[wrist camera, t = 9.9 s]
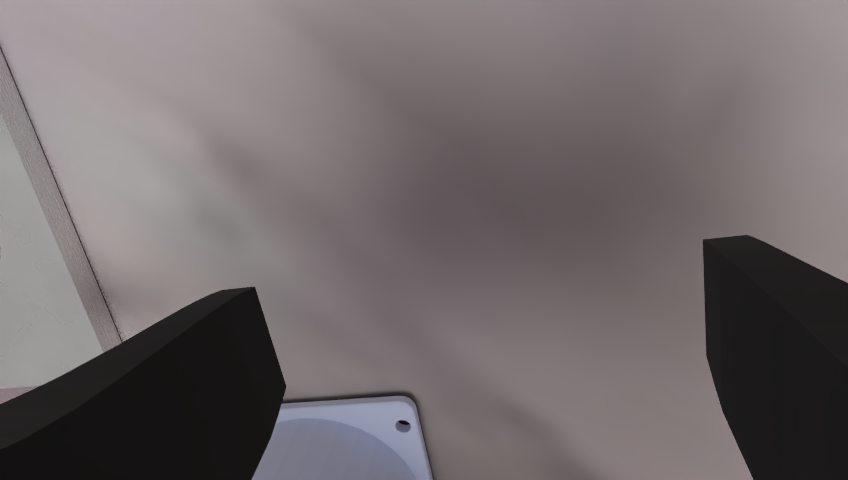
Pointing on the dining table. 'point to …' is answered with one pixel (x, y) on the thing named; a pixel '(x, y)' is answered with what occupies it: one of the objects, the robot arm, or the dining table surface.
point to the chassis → (41, 263)
